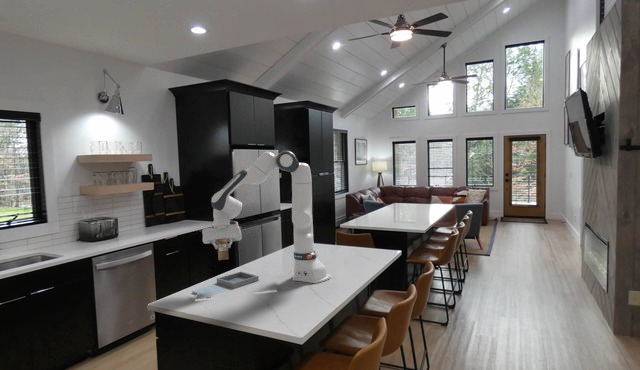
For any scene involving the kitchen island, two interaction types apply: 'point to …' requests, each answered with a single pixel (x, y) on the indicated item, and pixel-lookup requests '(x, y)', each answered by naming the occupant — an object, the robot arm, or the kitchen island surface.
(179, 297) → the kitchen island surface
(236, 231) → the robot arm
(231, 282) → the parts bin
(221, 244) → the walnut block
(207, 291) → the light blue flat slab
